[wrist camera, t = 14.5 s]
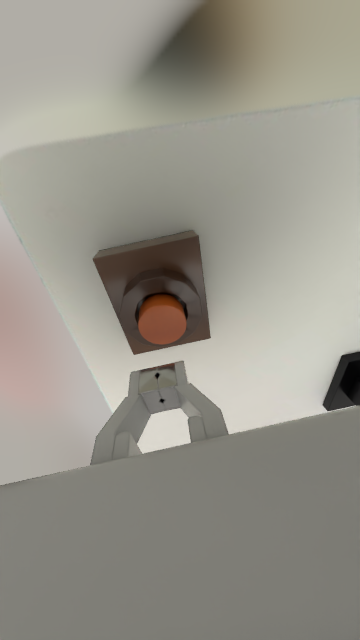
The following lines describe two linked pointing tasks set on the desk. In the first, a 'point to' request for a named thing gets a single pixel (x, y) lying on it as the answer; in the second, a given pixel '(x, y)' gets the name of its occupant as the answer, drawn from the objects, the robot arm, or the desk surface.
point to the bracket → (345, 384)
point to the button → (162, 319)
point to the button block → (156, 284)
